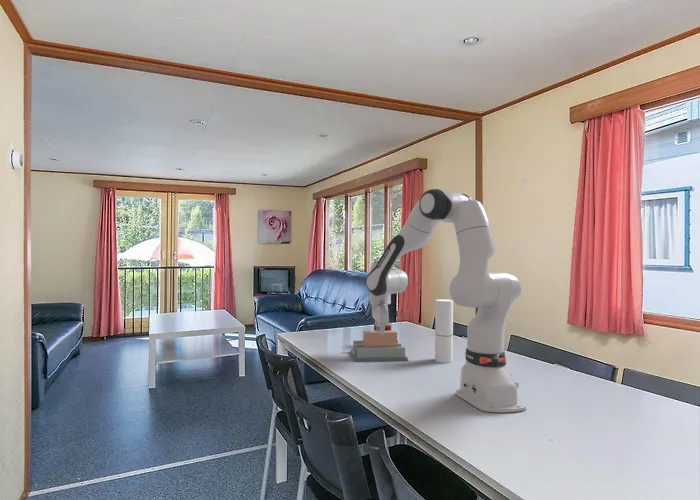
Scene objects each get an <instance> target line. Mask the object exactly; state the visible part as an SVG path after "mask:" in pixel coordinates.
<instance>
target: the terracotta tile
mask: <svg viewBox="0 0 700 500" xmlns="http://www.w3.org/2000/svg"><path fill="white" fill-rule="evenodd" d="M362 340H363V348H381V347H397V340H398V331H396V330H391V331H385V334H384V335H380V331H374V330H362Z"/></svg>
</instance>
